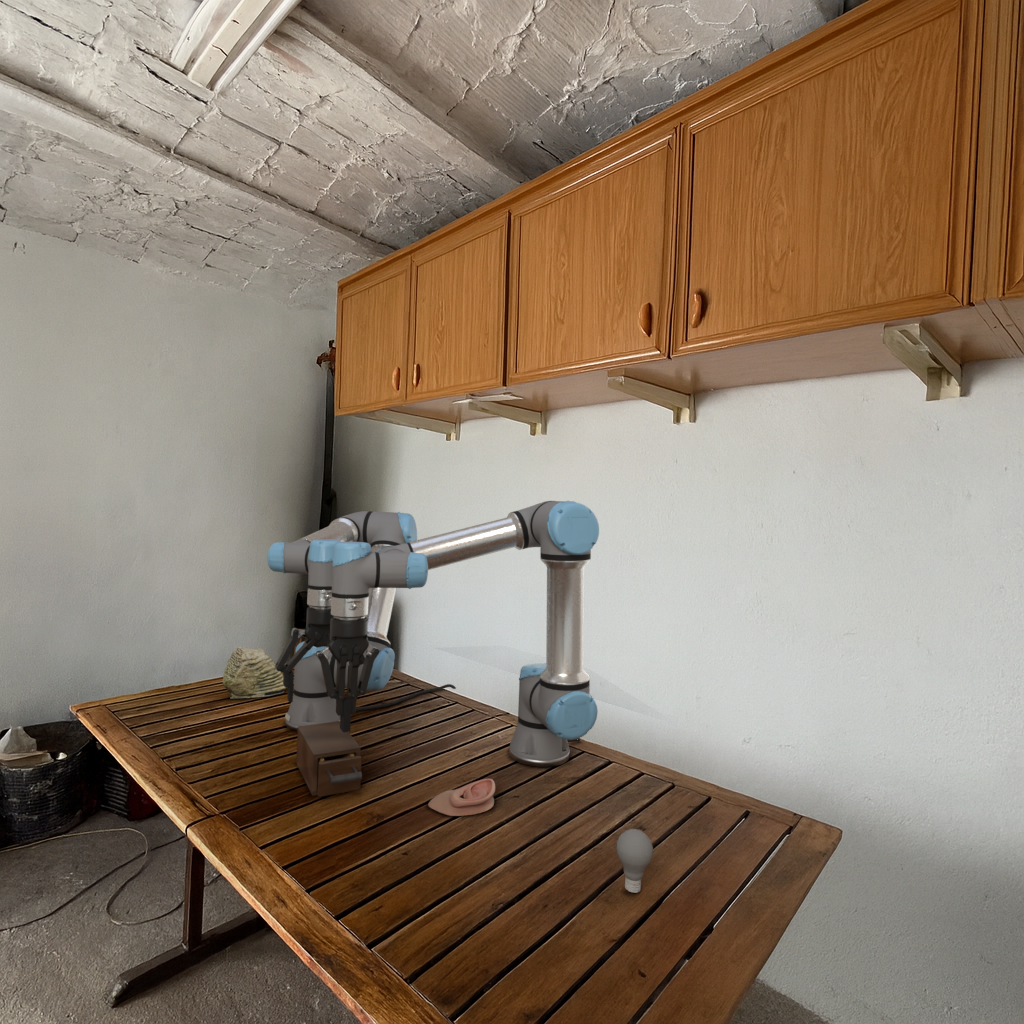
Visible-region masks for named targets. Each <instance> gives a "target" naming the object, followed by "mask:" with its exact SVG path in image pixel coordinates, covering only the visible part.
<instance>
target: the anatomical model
mask: <svg viewBox="0 0 1024 1024" xmlns="http://www.w3.org/2000/svg"><path fill="white" fill-rule="evenodd" d="M495 793H496V783H495V781H494V779H492V778H483V779H480V780H477V781H473V782H470V783H468V784H465V785H464V786H461V787H459V788H456V789H451V790H446V791H443V792H441V793H439V794H437V795H436V796H434V797H433V798H431V800H429V802H428V804H427V805H428V808H430V809H431V810H434V811H436V812H438V813H439V814H443V815H446V816H450V817H461V816H472V815H478V814H481V813H484V812H487V811H489V810H491V809H492V808H493V807H494V806H495V805H494V804H495V798H494V795H495Z"/></svg>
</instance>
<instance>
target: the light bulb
mask: <svg viewBox="0 0 1024 1024" xmlns="http://www.w3.org/2000/svg"><path fill="white" fill-rule="evenodd" d="M615 849H616V854H617V857H618V859H619V861H620V863H621V865H622V867H623V873H624V874H623V875H624V876H625V878H624V888H625V890H627V891H628V892H630V893H634V894H635V893H639V892H640V891H641V889H642V887H641V886H642V879H643V877H644V875H645V871H646V868H647V867H648V866H649V864H650V863H651V861H652V859H653V855H654V847H653V843H652V841H651V838H649V836H648V835H647V834H646V833H645V832H643V831H642V830H641V829H636V828H629V829H627V830H625V831H623V832H622V833H621V834H620V835H619V837H618V839H617V841H616V847H615Z"/></svg>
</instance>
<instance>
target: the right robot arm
mask: <svg viewBox="0 0 1024 1024" xmlns="http://www.w3.org/2000/svg"><path fill="white" fill-rule="evenodd" d="M599 535H600V525H599V521H598V518H597V516H596V515H595V513H594V512H593V511H592V510H591V508H589V507H588V506H586V505H585V504H583V503H580V502H576V501H573V500H565V501H564V500H546V501H545V500H544V501H542V502H539V503H536V504H533V505H530V506H527V507H525V508H522V509H517V510H515V511H511V512H509V513H508V515H507V516H506V517H504V518H499V519H495V520H491V521H487V522H483V523H480V524H479V523H478V524H475V525H471V526H468V527H464V528H460V529H455V530H452V531H447V532H444V533H440V534H435V535H433V536H428V537H424V538H420V539H417V540H416V541H412V542H409V543H405V544H400V545H396V546H385V547H382V548H380V549H379V550H378V551H377V552H372V550H371V546H370V544H369V543H365V542H339V543H337V544H336V545H335V547H334V554H333V563H332V597H331V615H332V616H334V617H332V619H331V620H330V639H329V641H328V643H327V647H326V648H324V649H323V650H322V651H317V652H316V656H317V658H318V659H319V660H320V662H321V667H322V671H323V676H324V681H325V685H326V690H327V694H328V695H329V697H330V698H332V699H333V698H334V699H336V713H337V715H338V716H340V729H341V730H342V732H349V733H350V732H351V725H352V724H351V722H352V715H355V714H356V712H357V711H356V707H357V700H358V698H359V697H360V696H364V695H365V694H366V692H367V691H366V689H367V685H368V682H369V678H370V674H371V671H372V667H373V663H374V660H375V658H376V657H377V655H378V654H379V650H378V649H377V648H376V647H373V646H371V645H369V641H368V639H367V629H368V619H367V617H365V616H366V615H368V599H369V588H396V589H408V590H411V589H417V588H424V587H425V585H426V584H427V582H428V576H429V571H430V570H433V569H434V570H435V569H437V568H443V567H445V566H450V565H452V564H453V565H454V564H457V563H461V562H464V561H468V560H471V559H476V558H480V557H483V556H486V555H491V554H494V553H498V552H502V551H505V550H510V549H517V550H518V551H521V550H524V549H529V548H540V550H539V553H540V554H539V555H540V557H539V558H540V561H541V562H542V563H543V564H544V565H545V566H546V644H545V645H546V648H545V649H546V650H545V651H546V653H545V654H546V657H545V658H546V659H545V660H546V662H544V663H542V662H541V663H528V664H524V665H523V666H521V668H520V671H519V677H518V681H519V684H518V705H517V706H518V709H517V723H516V727H515V729H514V732H513V734H512V735H513V736H512V737H511V740H510V743H509V750H508V751H509V752H508V753H509V756H510V758H511V759H513V760H514V761H515V762H516V763H517V762H518V763H519V764H522V765H524V766H525V765H526V766H530V767H536V768H550V767H558V766H561V765H563V764H565V763H567V762H568V761H569V759H570V751H571V750H570V749H571V748H570V746H569V743H575V742H581V738H582V737H584V736H586V735H587V734H588V733H589V731H590V730H592V729H593V727H594V725H595V723H596V722H597V718H598V712H599V711H598V705H597V703H596V700H595V699H594V697H593V696H592V695H591V694H590V693H591V692H590V689H591V688H590V687H591V686H590V685H591V683H590V679H591V678H590V675H589V673H587V672H586V670H585V669H584V619H585V618H584V616H585V615H584V614H585V612H584V611H585V609H584V607H585V605H584V604H585V601H584V599H585V597H584V596H585V588H584V587H585V567H586V566H587V564H588V563H590V562H591V559H592V558H591V557H592V554H591V553H592V549H593V548H594V546H595V545H596V544H597V542H598V540H599ZM365 651H366V657H365V661H364V664H363V668H362V672H361V675H360V679H359V683H358V686H357V682H358V666H359V659H360V658H361V656H362V655H363V653H364V652H365ZM330 652H331V653H332V655H333V656H334V658H335V659H336V660H337V662H336V663H337V676H336V691H335V689H334V684H333V679H332V675H331V670H330V665H329V662H328V659H329V653H330ZM347 662H349V685H348V693H347V695H348V696H345V695H346V693H345V692H346V688H345V673H346V665H347ZM577 739H578V740H577Z"/></svg>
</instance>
